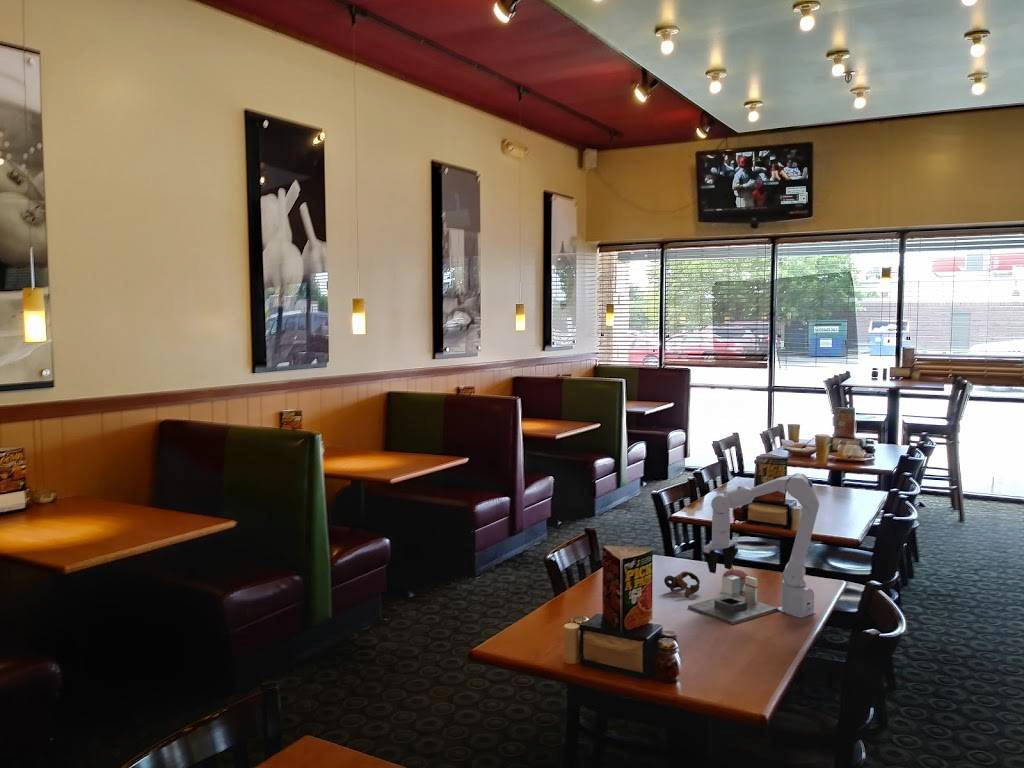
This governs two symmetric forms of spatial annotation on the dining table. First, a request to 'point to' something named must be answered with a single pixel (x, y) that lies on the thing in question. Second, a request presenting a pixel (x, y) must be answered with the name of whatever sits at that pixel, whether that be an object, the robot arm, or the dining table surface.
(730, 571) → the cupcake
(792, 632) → the dining table surface
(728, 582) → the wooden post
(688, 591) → the broken terracotta ring
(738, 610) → the stand base
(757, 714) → the dining table surface
